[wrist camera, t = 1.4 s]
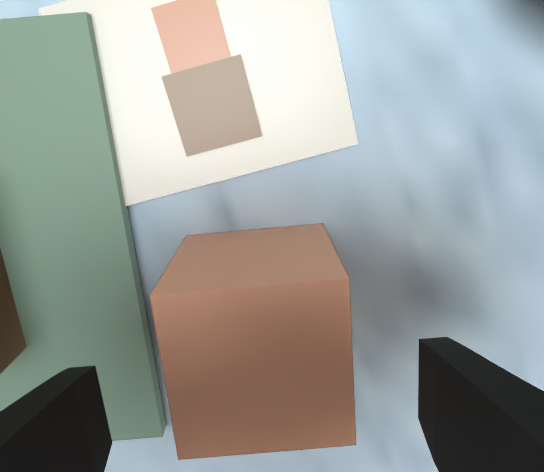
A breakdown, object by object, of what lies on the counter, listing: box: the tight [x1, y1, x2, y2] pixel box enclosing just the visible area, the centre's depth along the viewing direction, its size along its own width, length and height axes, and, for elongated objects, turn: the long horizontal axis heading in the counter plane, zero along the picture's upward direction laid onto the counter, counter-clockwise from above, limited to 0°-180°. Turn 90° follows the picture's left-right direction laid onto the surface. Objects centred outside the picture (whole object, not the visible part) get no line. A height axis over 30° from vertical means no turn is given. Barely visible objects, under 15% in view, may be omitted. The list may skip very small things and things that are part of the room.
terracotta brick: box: [150, 223, 356, 460], centre depth 13 cm, size 4×4×5 cm
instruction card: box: [38, 0, 358, 206], centre depth 13 cm, size 6×8×1 cm
